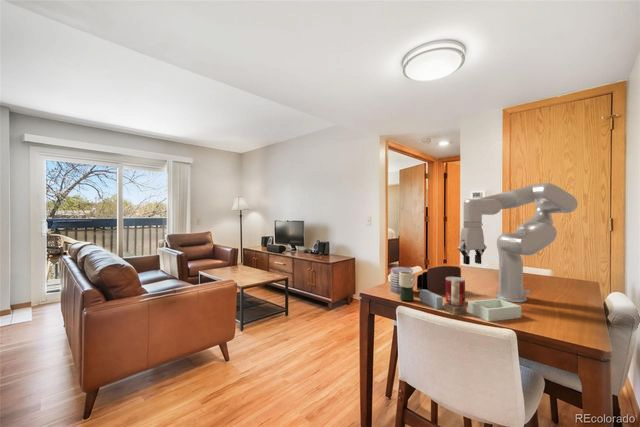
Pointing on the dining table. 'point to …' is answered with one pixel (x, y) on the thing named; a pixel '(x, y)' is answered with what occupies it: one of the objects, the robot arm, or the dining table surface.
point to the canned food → (461, 289)
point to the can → (397, 279)
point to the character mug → (406, 285)
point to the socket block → (455, 309)
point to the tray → (494, 309)
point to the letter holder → (437, 278)
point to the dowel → (455, 293)
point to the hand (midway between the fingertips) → (472, 263)
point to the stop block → (431, 299)
